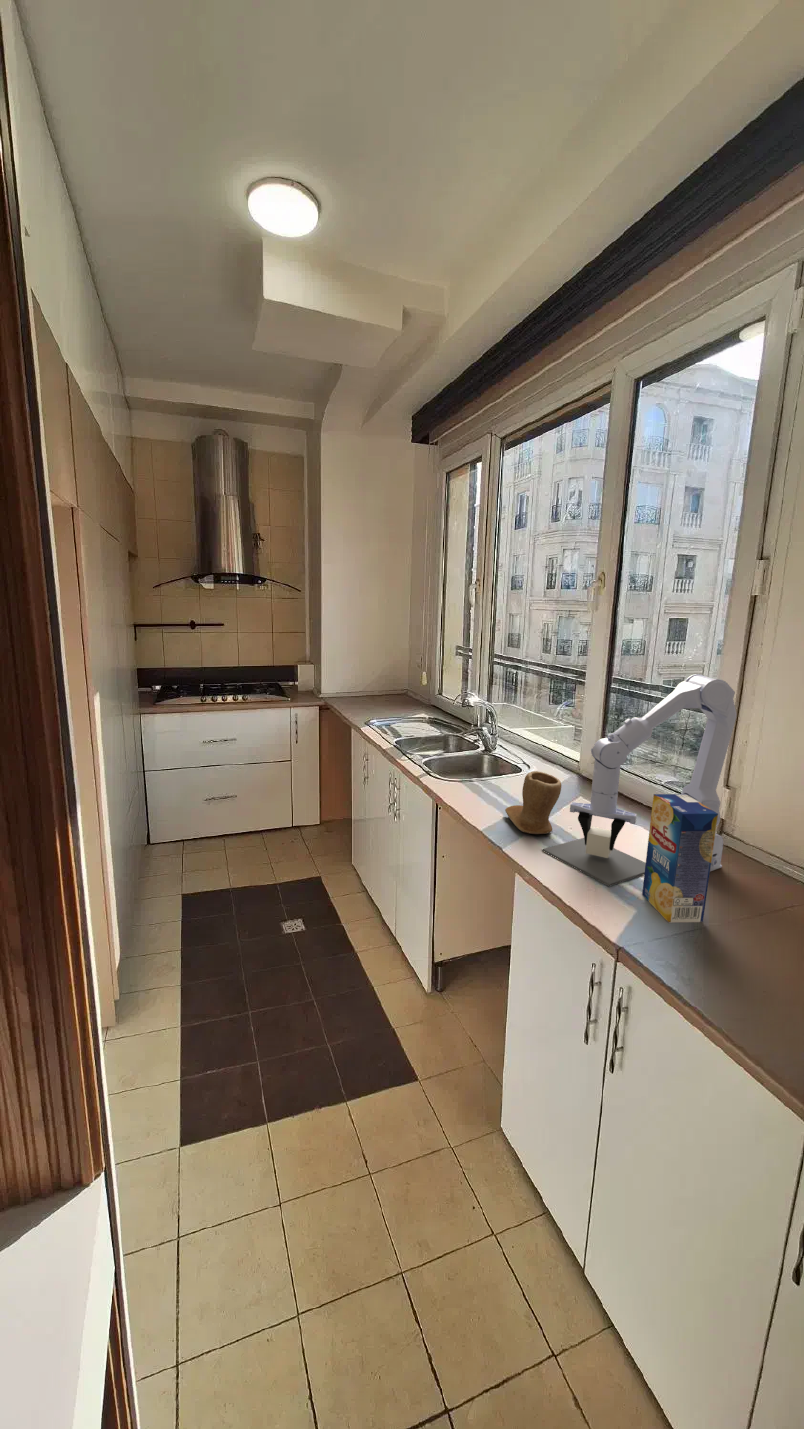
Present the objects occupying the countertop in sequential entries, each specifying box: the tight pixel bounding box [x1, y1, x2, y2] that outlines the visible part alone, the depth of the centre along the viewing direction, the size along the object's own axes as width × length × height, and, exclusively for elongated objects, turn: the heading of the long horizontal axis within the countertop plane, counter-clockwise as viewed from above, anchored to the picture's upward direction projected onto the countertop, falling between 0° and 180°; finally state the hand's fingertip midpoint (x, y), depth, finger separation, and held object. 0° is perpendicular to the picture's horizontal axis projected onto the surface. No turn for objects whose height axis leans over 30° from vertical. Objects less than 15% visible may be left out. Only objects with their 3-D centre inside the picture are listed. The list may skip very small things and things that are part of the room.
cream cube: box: [586, 825, 612, 858], centre depth 137 cm, size 5×5×5 cm
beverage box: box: [641, 793, 718, 924], centre depth 116 cm, size 7×11×22 cm, turn 4°
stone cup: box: [504, 770, 562, 835], centre depth 156 cm, size 15×12×15 cm
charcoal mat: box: [542, 837, 646, 887], centre depth 138 cm, size 20×16×1 cm
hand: (599, 846), depth 137 cm, fingers closed on cream cube, 5 cm apart
